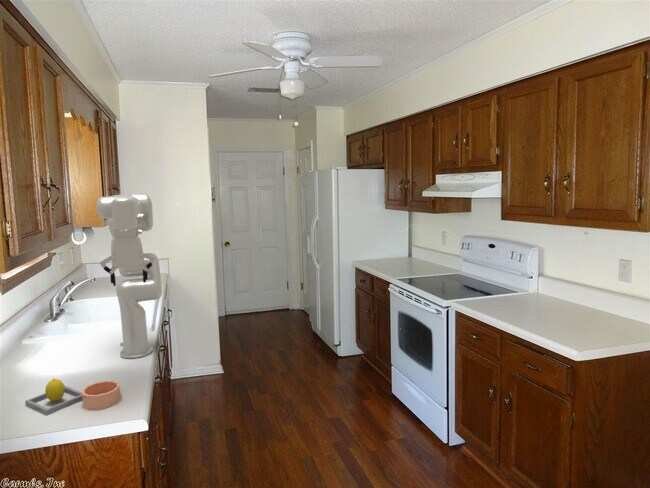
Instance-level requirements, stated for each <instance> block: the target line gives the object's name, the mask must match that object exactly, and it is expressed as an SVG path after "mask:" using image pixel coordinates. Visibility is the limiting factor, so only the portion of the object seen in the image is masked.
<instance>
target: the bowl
mask: <svg viewBox="0 0 650 488" xmlns="http://www.w3.org/2000/svg"><path fill="white" fill-rule="evenodd" d="M120 386H121V385H120V383H119V382H118V381H115V380H102V381H98V382H94V383H91V384H88V385H86V386H85V387H84V388H82V389H81V392H82V399H83V400H82V407H83V408H84V409H87V410H100V409H106V408H109V407H112V406H114V405H116V404H117V403H118V402H120V400H121V399H122V396H121V387H120Z"/></svg>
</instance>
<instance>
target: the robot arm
mask: <svg viewBox="0 0 650 488" xmlns="http://www.w3.org/2000/svg"><path fill="white" fill-rule="evenodd" d="M96 211H97V215H98V216H99V218H100V219H103V220H107V226H108V230H109V232H110V234H111V237H112V238H111V243H110V256H108V257H106V258H105V259H102V260H100V262H99V264H100V266H101V267H102V269H103V270H104V271H105V272H106V273H108V274H109V276H110V283H111V284H113V287H115V286H116V287H115V288H116V289H115V290H116V291H115V293H116V296H117V300H118V305H119V310H120V321H121V333H122V342H120V343H119V346H120V347H122V350H120V352H119V355H120V357H121V358H123V359H138V358H143V357H145V356H148V355H150V354H152V352H153V347H152V346H150V345H149V341H148V339H149V338H148V330H147V329H148V328H147V327H148V326H147V315H146V310H145V308H144V307H143V306H142V305H141V304H140V303H141V302H147V301H149V302H150V301H155V300H158V299H160V298H162V295H163V286H162V277H161V270H160V268H161V267H160V261H159V258H158V256H157V254H155V253H154V252H153V253H152V252H146V253H145V252H144V250H143V244H142V239H141V237H140V236H139V235H142V234H143V232H149V231H151V230H152V228H153V227H154V219H153V217H154V215H153V214H154V213H153V202H152V199H151V197H150V196H149V195H148V193H147V194H146V193H122V194H121V193H120V194H116V195H115V194H114V195H110V196H108V195H107V196H100V197H98V199H97V202H96ZM110 261H111V265H112V267H111V268H110V267H108V266H107V263H110ZM117 269H118V271H119V274H120V276H122V277H124V278H128V279H124V280H121V281H119V282H118V283H117V284H116V273H115V272H116V271H117ZM135 277H136V278H135ZM137 277H141V278H137ZM129 278H130V279H129Z"/></svg>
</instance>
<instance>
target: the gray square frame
mask: <svg viewBox="0 0 650 488" xmlns="http://www.w3.org/2000/svg"><path fill="white" fill-rule="evenodd" d="M64 387H65V392H64V393H67V394H70V395H72V396H74V397H72V398H70V399H67V400H65V401H63V402H60V403H58V404H55V405H53V406H51V407H46V406H44V405H41V404H39V403H38V402H40V401H43V400H45V399H48V398H47V396H46V392H44V393H41V394H39V395H37V396H34V397H31V398H29V399H25V401H24V402H25V403H24V404H25V406H27V407H29V408H31V409H32V410H35V411H37V412H39V413H41V414H44V415H46V416H48V415H51V414H53V413H55V412H57V411H60V410H62V409H65V408H68V407H70V406H72V405H74V404H76V403H78V402H81V401H83V399H82V391H81V390H77V389H74V388H71V387H70V386H68V385H65V384H64Z"/></svg>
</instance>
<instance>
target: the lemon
mask: <svg viewBox="0 0 650 488" xmlns="http://www.w3.org/2000/svg"><path fill="white" fill-rule="evenodd" d="M64 385H65V384H64V383H63V381H62V380H60V379H57V378H53V379H52V380H49V381H48V382H47V383H46V386H45V390H44V391H45V392H44V393H46V396H47V398H46V399H48V400H50V401H51V402H55V403H57V402H59V400H61V399H62V398H63V397H64V395H65V393H66V392H65V387H64Z"/></svg>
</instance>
